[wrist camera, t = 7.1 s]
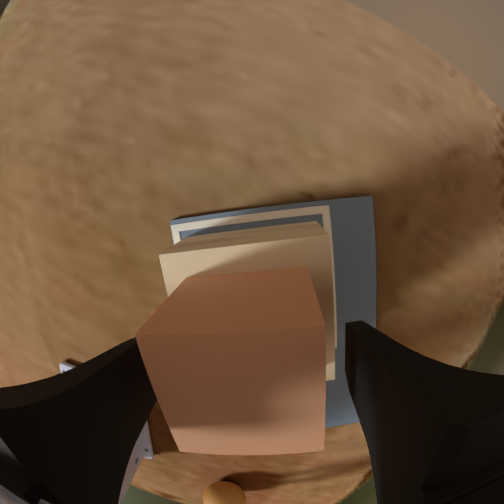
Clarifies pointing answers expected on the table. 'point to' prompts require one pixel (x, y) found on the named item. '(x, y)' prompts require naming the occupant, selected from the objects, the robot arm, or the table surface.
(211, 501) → the figurine
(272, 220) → the mat
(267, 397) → the terracotta cube
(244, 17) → the table surface
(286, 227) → the maple base block
